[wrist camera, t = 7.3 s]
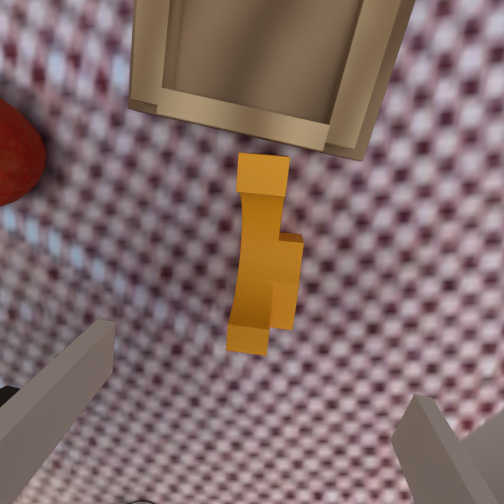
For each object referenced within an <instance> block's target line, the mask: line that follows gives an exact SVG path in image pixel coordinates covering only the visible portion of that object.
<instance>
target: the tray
mask: <svg viewBox="0 0 504 504" xmlns="http://www.w3.org/2000/svg"><path fill="white" fill-rule="evenodd" d="M414 3H415V0H134V13H133V30H132V47H131V64H130V81H129V98H128V109H132V110H135V111H140V112H144V113H149V114H153V115H157V116H162V117H166V118H171V119H175V120H180V121H184V122H189V123H193V124H197V125H202V126H206V127H211V128H215V129H220V130H224V131H228V132H233V133H237V134H242V135H246V136H251V137H255V138H260V139H264V140H268V141H273V142H277V143H282V144H286V145H291V146H295V147H299V148H304V149H308V150H313V151H317V152H322V153H326V154H331V155H335V156H339V157H344V158H348V159H353V160H357V161H363V159H364V156H365V153H366V150H367V147H368V143H369V140H370V137H371V134H372V131H373V128H374V125H375V122H376V119H377V116H378V113H379V110H380V107H381V104H382V101H383V98H384V95H385V92H386V89H387V86H388V83H389V79H390V76H391V73H392V70H393V67H394V64H395V61H396V58H397V55H398V52H399V49H400V46H401V43H402V40H403V37H404V34H405V31H406V28H407V25H408V22H409V19H410V15H411V12H412V9H413V6H414Z"/></svg>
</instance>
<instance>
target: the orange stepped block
mask: <svg viewBox="0 0 504 504" xmlns="http://www.w3.org/2000/svg"><path fill="white" fill-rule="evenodd" d="M289 161H290V157H288V156H279V155H268V154H256V153H239V155H238V171H237V187H236V192H239V193H240V196H241V202H242V238H241V251H240V261H239V269H238V277H237V284H236V290H235V296H234V301H233V306H232V311H231V315H230V319H229V322H228V329H227V345H226V350H227V351H234V352H242V353H249V354H257V355H264V356H266V355H267V346H268V338H269V329H270V327H273V328H280V329H288V330H292V329H293V322H294V316H295V309H296V302H297V296H298V289H299V279H300V269H301V260H302V253H303V246H304V241H303V237H302V234H292V233H282V232H280V225H281V217H282V210H283V203H284V198H285V195H286V187H287V178H288V170H289Z"/></svg>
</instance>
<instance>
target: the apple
mask: <svg viewBox="0 0 504 504" xmlns="http://www.w3.org/2000/svg"><path fill="white" fill-rule="evenodd" d="M46 152H47V151H46V149H45V146H44V144H43V141H42V139H41V136H40V134H39V133H38V132H37V131H36V129H35V128H34V127H33V126H32V125H31V124H30V123H29V122H28V121H27V119H26V118H25V117H24V116H23V115H22V114H21V113H20V112H19V111H18V110H17V109H15V108H14V107H12V106H11V105H9V104H8V103H7V102H5V101H4V100H2V99H1V98H0V206H3V205H6V204H9V203H12V202H15V201H16V200H18V199H20V198H22V197H23V196H24V195H25V194H26V193H27V192H28V191H30V190H31V189H32V188H33V187H34V186H35V185H36V184H37V183H38V181H39V179H40V177H41V175H42V173H43V171H44V168H45V166H46Z"/></svg>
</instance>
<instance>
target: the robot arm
mask: <svg viewBox="0 0 504 504" xmlns="http://www.w3.org/2000/svg"><path fill="white" fill-rule="evenodd" d="M115 323H116V322H112V321H108V320H103V319H99V318H98V319H97V320H96V321H95V322H94V323H93V324H92V325H91V326H89V327H88V328H87V329H86V330H85V331H84V332H83V333H82V334H81V335H80V336H78V337H77V338H76V339H75V340H74V341H73V342H72V343H71V344H70V345H69V346H67V347H66V348H65V349H64V350H63V351H62V352H61V353H60V354H59V355H58V356H56V357H55V358H54V359H53V360H52V361H51V362H50V363H49V364H48V365H47V366H45V367H44V368H43V369H42V370H41V371H40V372H39V373H38V374H37V375H36V376H34V377H33V378H32V379H31V380H30V381H29V382H28V383H27V384H26V385H25V386H23V387H22V388H21V389H19V388H15V387H11V386H5V387H3V388H1V389H0V504H12V503H13V502H14V501H15V499H16V498H17V497H18V495H19V494H20V493H21V491H22V490H23V489H24V487H25V486H26V485H27V484H28V482H29V481H30V480H31V478H32V477H33V476H34V474H35V473H36V472H37V470H38V469H39V468H40V466H41V465H42V464H43V463H44V461H45V460H46V459H47V457H48V456H49V455H50V453H51V452H52V451H53V449H54V448H55V447H56V446H57V444H58V443H59V442H60V440H61V439H62V438H63V436H64V435H65V434H66V432H67V431H68V430H69V429H70V427H71V426H72V425H73V423H74V422H75V421H76V419H77V418H78V417H79V415H80V414H81V413H82V412H83V410H84V409H85V408H86V406H87V405H88V404H89V402H90V401H91V400H92V398H93V397H94V396H95V395H96V393H97V392H98V391H99V389H100V388H101V387H102V385H103V384H104V383H105V381H106V380H107V379H108V378H109V376H110V375H111V374H112V372H113V356H114V340H115ZM391 442H392V444H393V447H394V450H395V452H396V455H397V457H398V460H399V462H400V465H401V468H402V470H403V473H404V475H405V478H406V481H407V483H408V486H409V488H410V491H411V494H412V496H413V499H414V501H415V504H498V503H497V501H496V500H495V498H494V496H493V495H492V493H491V491H490V490H489V488H488V487H487V485H486V484H485V482H484V480H483V479H482V477H481V475H480V474H479V472H478V471H477V469H476V467H475V466H474V464H473V463H472V461H471V459H470V458H469V456H468V455H467V453H466V451H465V450H464V448H463V447H462V445H461V443H460V442H459V440H458V438H457V437H456V435H455V434H454V432H453V430H452V429H451V427H450V426H449V424H448V422H447V421H446V419H445V418H444V416H443V414H442V413H441V411H440V410H439V408H438V406H437V405H436V403H435V402H434V400H433V398H430V397H426V396H422V395H417V394H414V396H413V398H412V400H411V402H410V404H409V405H408V407H407V409H406V411H405V413H404V415H403V417H402V419H401V421H400V423H399V425H398V426H397V428H396V430H395V432H394V434H393V436H392V438H391Z"/></svg>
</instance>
